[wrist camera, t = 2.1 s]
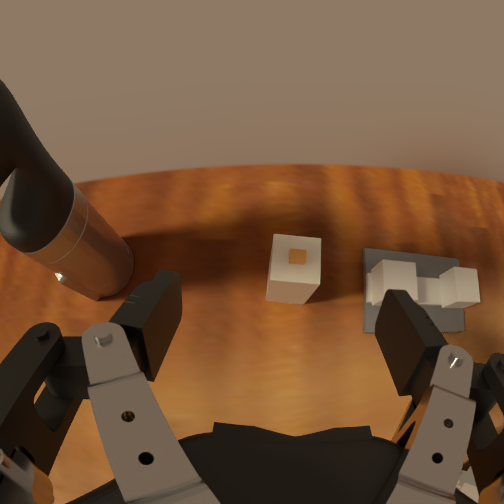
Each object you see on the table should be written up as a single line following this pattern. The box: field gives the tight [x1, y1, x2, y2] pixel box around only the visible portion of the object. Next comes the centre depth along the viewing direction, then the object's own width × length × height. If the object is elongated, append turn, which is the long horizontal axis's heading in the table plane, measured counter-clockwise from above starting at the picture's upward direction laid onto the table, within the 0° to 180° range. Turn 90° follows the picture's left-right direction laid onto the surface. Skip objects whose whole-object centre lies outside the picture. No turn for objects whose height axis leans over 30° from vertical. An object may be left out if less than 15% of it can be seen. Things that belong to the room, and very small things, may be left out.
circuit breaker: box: [456, 466, 479, 503], centre depth 18 cm, size 8×14×15 cm, turn 142°
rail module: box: [266, 234, 321, 304], centre depth 33 cm, size 5×5×11 cm
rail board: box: [363, 248, 480, 333], centre depth 35 cm, size 18×12×6 cm, turn 84°
